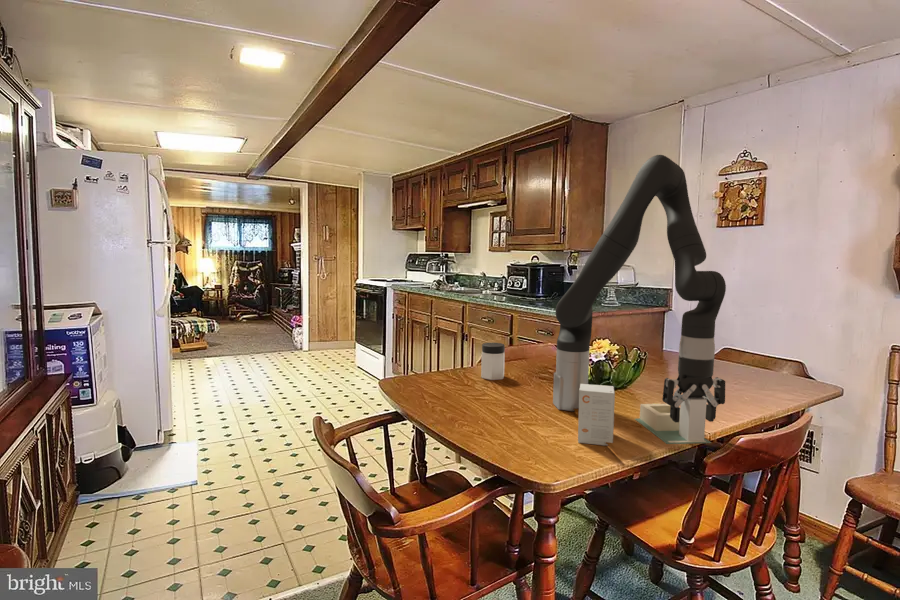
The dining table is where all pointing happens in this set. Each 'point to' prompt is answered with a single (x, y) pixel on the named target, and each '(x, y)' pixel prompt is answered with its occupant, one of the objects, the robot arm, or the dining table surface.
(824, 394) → the dining table surface
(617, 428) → the dining table surface
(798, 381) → the dining table surface
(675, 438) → the board
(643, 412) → the beige square socket
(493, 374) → the jar
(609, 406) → the small box
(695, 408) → the plug
